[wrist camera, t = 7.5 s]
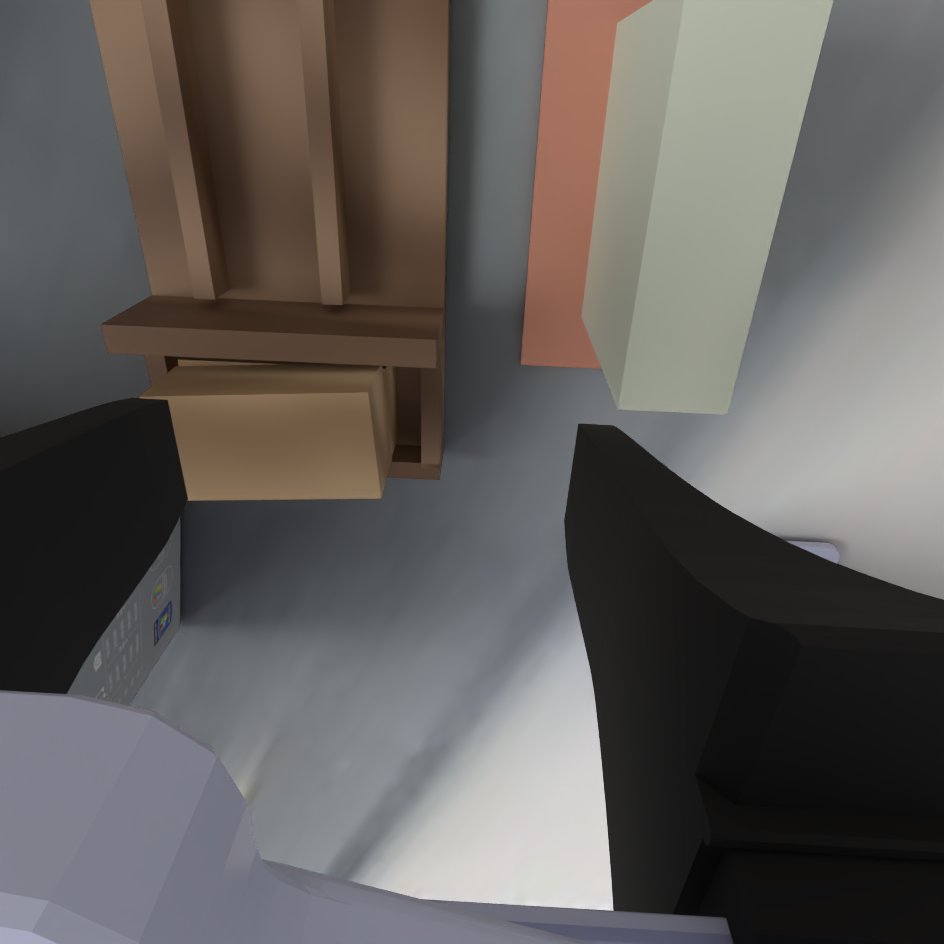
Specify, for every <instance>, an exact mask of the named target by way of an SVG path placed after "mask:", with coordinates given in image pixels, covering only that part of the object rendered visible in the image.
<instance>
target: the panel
mask: <svg viewBox="0 0 944 944" xmlns="http://www.w3.org/2000/svg"><path fill="white" fill-rule="evenodd" d="M832 4H833V0H653V1H651V2H649V3H648V4H646V5H645V6H643V7H642V8H640V9H638V10H637V11H635V12H634V13H632V14H631V15H629V16H628V17H626V18H624V19H623V20H621V21H620V22H618V23H617V29H616V37H615V45H614V53H613V62H612V70H611V78H610V86H609V95H608V103H607V111H606V119H605V127H604V136H603V144H602V152H601V160H600V168H599V177H598V185H597V193H596V201H595V210H594V218H593V226H592V234H591V242H590V251H589V259H588V267H587V275H586V283H585V292H584V300H583V308H582V316H581V317H582V320H583V322H584V325H585V327H586V330H587V332H588V335H589V338H590V340H591V343H592V345H593V348H594V350H595V353H596V355H597V358H598V361H599V363H600V366H601V368H602V371H603V373H604V376H605V378H606V381H607V384H608V386H609V389H610V391H611V394H612V396H613V399H614V401H615V404H616V407H617V409H618V410H636V411H658V412H679V413H701V414H723V415H727V414H728V410H729V406H730V402H731V398H732V394H733V390H734V386H735V382H736V379H737V375H738V371H739V367H740V363H741V359H742V355H743V351H744V347H745V343H746V340H747V336H748V332H749V328H750V324H751V320H752V316H753V312H754V308H755V304H756V301H757V297H758V293H759V289H760V285H761V281H762V277H763V273H764V269H765V265H766V262H767V258H768V254H769V250H770V246H771V242H772V238H773V234H774V230H775V226H776V223H777V219H778V215H779V211H780V207H781V203H782V199H783V195H784V191H785V187H786V184H787V180H788V176H789V172H790V168H791V164H792V160H793V156H794V152H795V148H796V145H797V141H798V137H799V133H800V129H801V125H802V121H803V117H804V113H805V109H806V106H807V102H808V98H809V94H810V90H811V86H812V82H813V78H814V74H815V70H816V67H817V63H818V59H819V55H820V51H821V47H822V43H823V39H824V35H825V31H826V28H827V24H828V20H829V16H830V12H831V8H832Z"/></svg>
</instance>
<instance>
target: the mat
mask: <svg viewBox="0 0 944 944" xmlns="http://www.w3.org/2000/svg"><path fill="white" fill-rule="evenodd" d="M651 1H653V0H548V10H547V23H546V36H545V49H544V62H543V75H542V88H541V101H540V114H539V127H538V140H537V153H536V166H535V179H534V192H533V205H532V218H531V231H530V244H529V257H528V270H527V283H526V296H525V309H524V322H523V335H522V348H521V361H520V363H521V365H532V366H554V367H576V368H598V369H602V368H601V366H600V363H599V361H598V358H597V355H596V353H595V350H594V348H593V345H592V343H591V340H590V338H589V335H588V332H587V330H586V327H585V325H584V322H583V320H582V317H581V316H582V308H583V300H584V292H585V283H586V275H587V267H588V259H589V251H590V242H591V234H592V226H593V218H594V210H595V201H596V193H597V185H598V177H599V168H600V160H601V152H602V144H603V136H604V127H605V119H606V111H607V103H608V95H609V86H610V78H611V70H612V62H613V53H614V45H615V37H616V29H617V23H618V22H620V21H621V20H623V19H624V18H626V17H628V16H629V15H631V14H632V13H634V12H635V11H637V10H638V9H640V8H642V7H643V6H645V5H646V4H648V3H649V2H651Z"/></svg>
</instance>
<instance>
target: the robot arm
mask: <svg viewBox="0 0 944 944" xmlns="http://www.w3.org/2000/svg"><path fill="white" fill-rule="evenodd" d="M187 500H188V496H187V492H186V487H185V482H184V477H183V472H182V467H181V462H180V457H179V452H178V448H177V443H176V438H175V433H174V428H173V423H172V418H171V413H170V408H169V404H168V400H161V399H144V398H130V399H123V400H118V401H114V402H110V403H107V404H103V405H99V406H96V407H93V408H90V409H86V410H83V411H80V412H77V413H74V414H71V415H68V416H65V417H62V418H59V419H56V420H53V421H50V422H47V423H44V424H41V425H38V426H35V427H32V428H29V429H26V430H24V431H21V432H18V433H15V434H11V435H8V436H5V437H2V438H0V944H944V600H942V599H939V598H935V597H932V596H928V595H925V594H921V593H918V592H915V591H912V590H908V589H905V588H903V587H900V586H897V585H894V584H891V583H888V582H885V581H883V580H880V579H877V578H874V577H871V576H868V575H866V574H863V573H860V572H857V571H855V570H852V569H850V568H847V567H845V566H842V565H839V564H838V561H839V559H840V553H839V551H838V550H837V548H836V547H835V546H834V545H832V544H830V543H822V542H802V541H785V540H783V539H781V538H779V537H777V536H775V535H773V534H771V533H769V532H767V531H765V530H763V529H761V528H759V527H758V526H756V525H754V524H752V523H750V522H749V521H747V520H745V519H743V518H741V517H740V516H738V515H736V514H734V513H732V512H731V511H729V510H728V509H726V508H724V507H723V506H721V505H719V504H718V503H716V502H715V501H713V500H712V499H710V498H709V497H707V496H706V495H704V494H703V493H702V492H700V491H699V490H697V489H696V488H694V487H693V486H691V485H690V484H689V483H687V482H686V481H684V480H683V479H682V478H680V477H679V476H678V475H676V474H675V473H674V472H672V471H671V470H670V469H668V468H667V467H666V466H665V465H663V464H662V463H661V462H660V461H658V460H657V459H656V458H655V457H653V456H652V455H651V454H650V453H648V452H647V451H646V450H645V449H644V448H642V447H641V446H640V445H639V444H637V443H636V442H635V441H634V440H633V439H631V438H630V437H629V436H628V435H626V434H625V433H624V432H622V431H621V430H620V429H618V428H617V427H615V426H611V425H594V424H578V431H577V437H576V444H575V451H574V458H573V465H572V472H571V479H570V485H569V492H568V499H567V506H566V513H565V520H564V523H565V538H566V552H567V563H568V570H569V575H570V580H571V584H572V589H573V593H574V598H575V603H576V607H577V611H578V616H579V620H580V625H581V629H582V634H583V638H584V643H585V647H586V652H587V656H588V660H589V665H590V669H591V675H592V681H593V687H594V693H595V701H596V711H597V720H598V729H599V738H600V748H601V759H602V769H603V780H604V791H605V801H606V813H607V826H608V839H609V852H610V864H611V877H612V893H613V909H614V911H606V910H590V909H573V908H557V907H540V906H524V905H507V904H490V903H474V902H457V901H441V900H424V899H418V898H414V897H410V896H406V895H402V894H398V893H394V892H391V891H387V890H383V889H379V888H375V887H371V886H367V885H363V884H359V883H355V882H352V881H348V880H344V879H340V878H336V877H332V876H328V875H324V874H320V873H316V872H312V871H309V870H305V869H301V868H297V867H293V866H289V865H285V864H281V863H277V862H273V861H268V860H264V859H261V857H260V855H259V853H258V850H257V847H256V843H255V838H254V833H253V828H252V823H251V819H250V814H249V809H248V804H247V802H246V800H245V799H244V797H243V795H242V794H241V792H240V791H239V789H238V787H237V786H236V784H235V783H234V781H233V780H232V778H231V776H230V775H229V773H228V772H227V770H226V768H225V767H224V765H223V764H222V762H221V761H220V759H219V757H218V756H217V754H216V753H215V751H214V750H213V748H212V747H210V746H209V745H207V744H206V743H204V742H202V741H201V740H199V739H197V738H196V737H194V736H193V735H191V734H189V733H188V732H186V731H185V730H183V729H181V728H180V727H178V726H176V725H175V724H173V723H172V722H170V721H168V720H167V719H165V718H163V717H162V716H160V715H159V714H157V713H155V712H153V711H148V710H144V709H140V708H135V707H131V706H127V705H122V704H118V703H114V702H109V701H105V700H100V699H96V698H92V697H87V696H83V695H70V694H67V693H68V691H69V689H70V687H71V686H72V684H73V682H74V680H75V678H76V676H77V675H78V673H79V671H80V669H81V667H82V666H83V664H84V662H85V661H86V659H87V657H88V656H89V654H90V653H91V651H92V650H93V648H94V647H95V645H96V643H97V642H98V640H99V639H100V638H101V636H102V635H103V633H104V632H105V630H106V629H107V628H108V626H109V625H110V623H111V622H112V621H113V619H114V618H115V616H116V615H117V614H118V612H119V611H120V609H121V608H122V607H123V605H124V604H125V602H126V601H127V600H128V598H129V597H130V595H131V594H132V593H133V591H134V590H135V588H136V587H137V586H138V584H139V583H140V581H141V580H142V579H143V577H144V576H145V574H146V573H147V571H148V570H149V568H150V567H151V566H152V564H153V563H154V561H155V560H156V558H157V557H158V555H159V554H160V553H161V551H162V550H163V548H164V546H165V545H166V543H167V542H168V540H169V538H170V536H171V534H172V532H173V530H174V528H175V526H176V524H177V522H178V520H179V518H180V515H181V513H182V511H183V509H184V507H185V504H186V502H187Z"/></svg>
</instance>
